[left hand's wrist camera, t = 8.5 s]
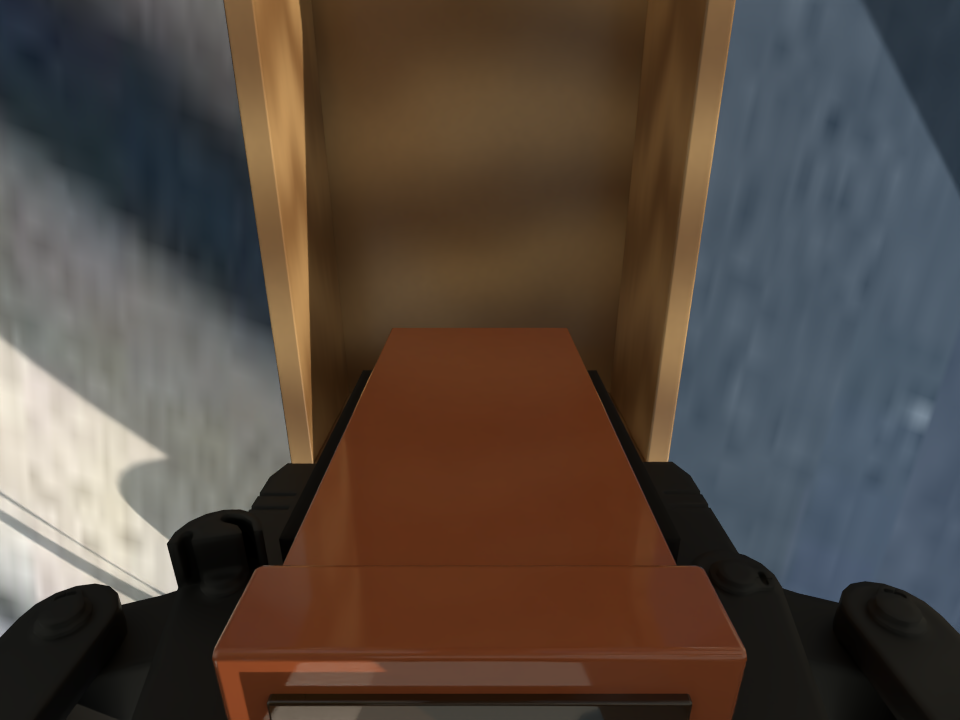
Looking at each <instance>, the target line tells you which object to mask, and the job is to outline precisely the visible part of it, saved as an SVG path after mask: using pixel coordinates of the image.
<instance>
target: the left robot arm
mask: <svg viewBox="0 0 960 720" xmlns="http://www.w3.org/2000/svg"><path fill="white" fill-rule="evenodd" d="M587 371H588V374H589V376H590V378H591V380H592V382H593V384H594V387H595V389H596V391H597V393H598V395H599V397H600V400H601V402H602V404H603V406H604V408H605V410H606V413H607V415H608V417H609V419H610V421H611V424H612V426H613V428H614V430H615V432H616V434H617V437H618V439H619V441H620V443H621V445H622V447H623V450H624V452H625V454H626V456H627V458H628V460H629V463H630V465H631V467H632V469H633V471H634V473H635V476H636V478H637V480H638V482H639V484H640V487H641V489H642V491H643V493H644V495H645V497H646V500H647V502H648V504H649V506H650V508H651V510H652V513H653V515H654V517H655V519H656V521H657V523H658V526H659V528H660V530H661V532H662V534H663V537H664V539H665V541H666V543H667V545H668V547H669V550H670V552H671V554H672V556H673V558H674V560H675V563H676V565H696V566H699V567H702V568H703V569H704V570H705V572H706V574H707V576H708V578H709V580H710V582H711V584H712V586H713V588H714V590H715V592H716V593H717V595H718V597H719V599H720V601H721V603H722V605H723V607H724V609H725V611H726V613H727V615H728V617H729V618H730V620H731V622H732V624H733V626H734V628H735V630H736V632H737V634H738V636H739V638H740V640H741V642H742V644H743V645H744V647H745V650H746V653H747V662H746V666H745V670H744V674H743V678H742V682H741V686H740V690H739V694H738V698H737V702H736V706H735V710H734V714H733V718H732V720H960V634H959V633H958V632H957V631H956V630H955V629H954V628H953V627H952V626H951V625H950V624H949V623H948V622H947V621H946V620H945V619H944V618H943V617H942V616H941V615H940V614H939V613H938V612H936V611H935V610H934V609H933V608H932V607H930V606H929V605H928V604H927V603H925V602H924V601H922V600H920V599H919V598H917V597H915V596H913V595H911V594H909V593H908V592H906V591H904V590H901V589H898V588H895V587H892V586H889V585H886V584H882V583H874V582H866V581H864V582H859V583H853V584H850V585H849V586H848V587H847V588H846V589H844V590H843V591H842V594H841V598H840V601H839V603H838V602H833V601H829V600H825V599H820V598H816V597H812V596H808V595H803V594H799V593H796V592H793V591H789V590H786V589H783V588H782V586H781V585H780V583H779V582H778V580H777V578H776V577H775V575H774V574H773V573H772V572H771V571H769V570H768V569H767V568H766V567H765V566H763V565H762V564H761V563H759V562H757V561H755V560H753V559H751V558H749V557H747V556H746V555H742V554H739V553H738V552H737V550H736V548H735V547H734V545H733V544H732V542H731V540H730V539H729V537H728V536H727V534H726V532H725V531H724V529H723V527H722V526H721V524H720V523H719V521H718V519H717V518H716V516H715V515H714V513H713V511H712V510H711V508H708V503H707V502H706V500H705V499H704V497H703V495H702V494H700V490H699V489H698V487H697V486H696V484H695V482H694V481H693V479H692V478H691V476H690V475H689V474H688V473H686V472H685V471H684V470H682V469H681V468H680V467H678V466H677V465H676V464H674V463H673V462H642V460H641V458H640V456H639V454H638V452H637V450H636V448H635V446H634V444H633V442H632V440H631V438H630V436H629V434H628V432H627V430H626V428H625V426H624V424H623V422H622V420H621V418H620V416H619V414H618V412H617V410H616V408H615V406H614V404H613V402H612V400H611V398H610V396H609V394H608V392H607V390H606V388H605V386H604V384H603V382H602V380H601V378H600V376H599V374H598V372H597V370H587ZM371 373H372V370H363V372H362V374H361V376H360V378H359V380H358V382H357V384H356V386H355V388H354V390H353V392H352V394H351V396H350V397H349V399H348V401H347V403H346V405H345V407H344V409H343V411H342V413H341V415H340V417H339V419H338V421H337V423H336V425H335V427H334V429H333V431H332V433H331V435H330V437H329V439H328V441H327V443H326V445H325V447H324V449H323V451H322V453H321V455H320V457H319V459H318V461H317V463H288V464H286V465H285V466H284V467H282V468H281V469H280V470H279V471H277V472H276V473H275V474H273V475H272V476H271V477H270V478H269V479H268V481H267V482H266V484H265V486H264V487H263V489H262V491H261V492H260V496H258V497H257V499H256V500H255V502H254V503H253V505H252V509H251V510H249V512H247V511H244V510H221V511H217V512H213V513H209V514H205V515H203V516H201V517H199V518H196V519H194V520H192V521H190V522H188V523H187V524H185V525H184V526H183V527H181V528H180V529H179V530H177V531H176V532H175V533H174V535H173V536H172V537H171V539H170V540H169V542H168V543H167V546H168V550H169V554H170V558H171V562H172V565H173V569H174V573H175V577H176V580H177V584H178V590H177V591H174V592H171V593H168V594H165V595H162V596H157V597H153V598H149V599H145V600H140V601H136V602H132V603H128V604H123V605H121V602H120V599H119V596H118V593H117V592H116V591H114V590H113V589H112V588H111V587H110V586H106V585H100V584H89V585H81V586H75V587H72V588H69V589H67V590H64V591H61V592H58V593H55V594H53V595H52V596H50V597H48V598H46V599H44V600H43V601H41V602H39V603H37V604H35V605H34V606H33V607H32V608H31V609H29V610H28V611H27V612H26V613H25V614H23V615H22V616H21V617H20V618H19V619H18V620H17V621H16V622H15V623H14V624H13V625H12V626H11V627H10V628H9V629H8V630H7V631H6V632H5V633H4V634H3V635H2V636H1V637H0V720H227V717H226V713H225V709H224V705H223V701H222V697H221V693H220V689H219V685H218V681H217V677H216V673H215V669H214V665H213V661H212V654H213V651H214V648H215V646H216V644H217V642H218V640H219V638H220V636H221V634H222V632H223V631H224V629H225V627H226V625H227V623H228V621H229V619H230V617H231V615H232V613H233V611H234V609H235V608H236V606H237V604H238V602H239V600H240V598H241V596H242V594H243V592H244V590H245V588H246V586H247V584H248V583H249V581H250V579H251V577H252V575H253V573H254V571H255V569H257V568H258V567H260V566H263V565H283V563H284V561H285V559H286V557H287V555H288V553H289V550H290V548H291V546H292V544H293V542H294V540H295V537H296V535H297V533H298V531H299V529H300V527H301V524H302V522H303V520H304V518H305V516H306V514H307V511H308V509H309V507H310V505H311V503H312V501H313V498H314V496H315V494H316V492H317V490H318V488H319V485H320V483H321V481H322V479H323V477H324V475H325V472H326V470H327V468H328V466H329V464H330V462H331V459H332V457H333V455H334V453H335V451H336V449H337V446H338V444H339V442H340V440H341V438H342V436H343V433H344V431H345V429H346V427H347V425H348V423H349V420H350V418H351V416H352V414H353V412H354V410H355V407H356V405H357V403H358V401H359V399H360V396H361V394H362V392H363V390H364V388H365V386H366V383H367V381H368V379H369V377H370V375H371Z"/></svg>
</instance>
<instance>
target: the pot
mask: <svg viewBox="0 0 960 720" xmlns="http://www.w3.org/2000/svg"><path fill="white" fill-rule="evenodd" d="M212 661H213V665H214V669H215V673H216V677H217V681H218V685H219V689H220V693H221V697H222V701H223V705H224V709H225V713H226V717H227V720H732V718H733V714H734V710H735V706H736V702H737V698H738V694H739V690H740V686H741V682H742V678H743V674H744V670H745V666H746V662H747V653H746V650H745V647H744V645H743V644H742V642H741V640H740V638H739V636H738V634H737V632H736V630H735V628H734V626H733V624H732V622H731V620H730V618H729V617H728V615H727V613H726V611H725V609H724V607H723V605H722V603H721V601H720V599H719V597H718V595H717V593H716V592H715V590H714V588H713V586H712V584H711V582H710V580H709V578H708V576H707V574H706V572H705V570H704V569H703V568H702V567H699V566H696V565H676V563H675V560H674V558H673V556H672V554H671V552H670V550H669V547H668V545H667V543H666V541H665V539H664V537H663V534H662V532H661V530H660V528H659V526H658V523H657V521H656V519H655V517H654V515H653V513H652V510H651V508H650V506H649V504H648V502H647V500H646V497H645V495H644V493H643V491H642V489H641V487H640V484H639V482H638V480H637V478H636V476H635V473H634V471H633V469H632V467H631V465H630V463H629V460H628V458H627V456H626V454H625V452H624V450H623V447H622V445H621V443H620V441H619V439H618V437H617V434H616V432H615V430H614V428H613V426H612V424H611V421H610V419H609V417H608V415H607V413H606V410H605V408H604V406H603V404H602V402H601V400H600V397H599V395H598V393H597V391H596V389H595V387H594V384H593V382H592V380H591V378H590V376H589V374H588V371H587V369H586V367H585V365H584V363H583V360H582V358H581V356H580V354H579V352H578V350H577V347H576V345H575V343H574V341H573V339H572V337H571V334H570V332H569V330H568V328H392V329H391V331H390V334H389V336H388V338H387V340H386V342H385V344H384V347H383V349H382V351H381V353H380V355H379V357H378V360H377V362H376V364H375V366H374V368H373V370H372V373H371V375H370V377H369V379H368V381H367V383H366V386H365V388H364V390H363V392H362V394H361V396H360V399H359V401H358V403H357V405H356V407H355V410H354V412H353V414H352V416H351V418H350V420H349V423H348V425H347V427H346V429H345V431H344V433H343V436H342V438H341V440H340V442H339V444H338V446H337V449H336V451H335V453H334V455H333V457H332V459H331V462H330V464H329V466H328V468H327V470H326V472H325V475H324V477H323V479H322V481H321V483H320V485H319V488H318V490H317V492H316V494H315V496H314V498H313V501H312V503H311V505H310V507H309V509H308V511H307V514H306V516H305V518H304V520H303V522H302V524H301V527H300V529H299V531H298V533H297V535H296V537H295V540H294V542H293V544H292V546H291V548H290V550H289V553H288V555H287V557H286V559H285V561H284V563H283V565H263V566H260V567H258V568H257V569H255V571H254V573H253V575H252V577H251V579H250V581H249V583H248V584H247V586H246V588H245V590H244V592H243V594H242V596H241V598H240V600H239V602H238V604H237V606H236V608H235V609H234V611H233V613H232V615H231V617H230V619H229V621H228V623H227V625H226V627H225V629H224V631H223V632H222V634H221V636H220V638H219V640H218V642H217V644H216V646H215V648H214V651H213V654H212Z"/></svg>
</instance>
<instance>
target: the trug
mask: <svg viewBox="0 0 960 720" xmlns="http://www.w3.org/2000/svg"><path fill="white" fill-rule="evenodd" d="M223 1H224V8H225V15H226V22H227V28H228V35H229V42H230V49H231V55H232V62H233V69H234V76H235V83H236V89H237V96H238V103H239V110H240V117H241V123H242V130H243V137H244V144H245V151H246V157H247V164H248V171H249V178H250V185H251V191H252V198H253V205H254V212H255V219H256V225H257V232H258V239H259V246H260V252H261V259H262V266H263V273H264V280H265V286H266V293H267V300H268V307H269V314H270V320H271V327H272V334H273V341H274V348H275V354H276V361H277V368H278V375H279V382H280V388H281V395H282V402H283V409H284V416H285V422H286V429H287V436H288V443H289V449H290V456H291V463H317V461H318V459H319V457H320V455H321V453H322V451H323V449H324V447H325V445H326V443H327V441H328V439H329V437H330V435H331V433H332V431H333V429H334V427H335V425H336V423H337V421H338V419H339V417H340V415H341V413H342V411H343V409H344V407H345V405H346V403H347V401H348V399H349V397H350V396H351V394H352V392H353V390H354V388H355V386H356V384H357V382H358V380H359V378H360V376H361V374H362V372H363V370H373V368H374V366H375V364H376V362H377V360H378V357H379V355H380V353H381V351H382V349H383V347H384V344H385V342H386V340H387V338H388V336H389V334H390V331H391V329H392V328H568V330H569V332H570V334H571V337H572V339H573V341H574V343H575V345H576V347H577V350H578V352H579V354H580V356H581V358H582V360H583V363H584V365H585V367H586V369H587V370H597V372H598V374H599V376H600V378H601V380H602V382H603V384H604V386H605V388H606V390H607V392H608V394H609V396H610V398H611V400H612V402H613V404H614V406H615V408H616V410H617V412H618V414H619V416H620V418H621V420H622V422H623V424H624V426H625V428H626V430H627V432H628V434H629V436H630V438H631V440H632V442H633V444H634V446H635V448H636V450H637V452H638V454H639V456H640V458H641V460H642V462H668V458H669V451H670V445H671V438H672V431H673V424H674V417H675V410H676V404H677V397H678V390H679V383H680V376H681V370H682V363H683V356H684V349H685V342H686V335H687V329H688V322H689V315H690V308H691V301H692V295H693V288H694V281H695V274H696V267H697V260H698V254H699V247H700V240H701V233H702V226H703V220H704V213H705V206H706V199H707V192H708V185H709V179H710V172H711V165H712V158H713V151H714V145H715V138H716V131H717V124H718V117H719V110H720V104H721V97H722V90H723V83H724V76H725V70H726V63H727V56H728V49H729V42H730V35H731V29H732V22H733V15H734V8H735V1H736V0H223Z"/></svg>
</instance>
